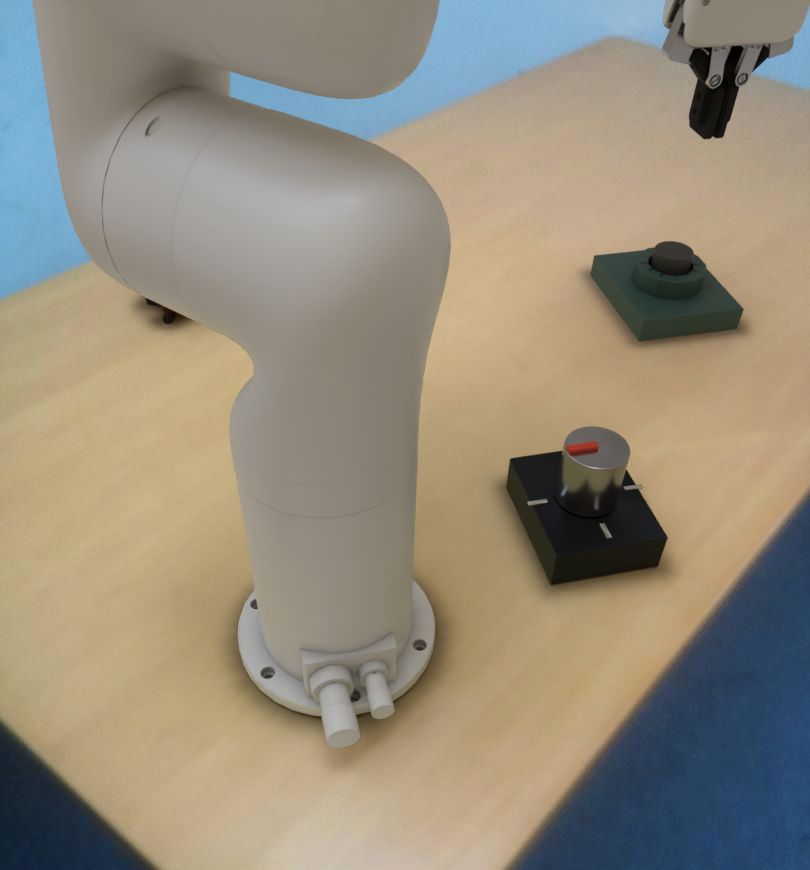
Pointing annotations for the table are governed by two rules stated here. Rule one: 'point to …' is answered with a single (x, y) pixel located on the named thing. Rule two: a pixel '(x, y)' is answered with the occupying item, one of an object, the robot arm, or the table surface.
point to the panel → (582, 525)
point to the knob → (591, 471)
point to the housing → (664, 296)
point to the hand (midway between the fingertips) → (705, 131)
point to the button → (672, 258)
